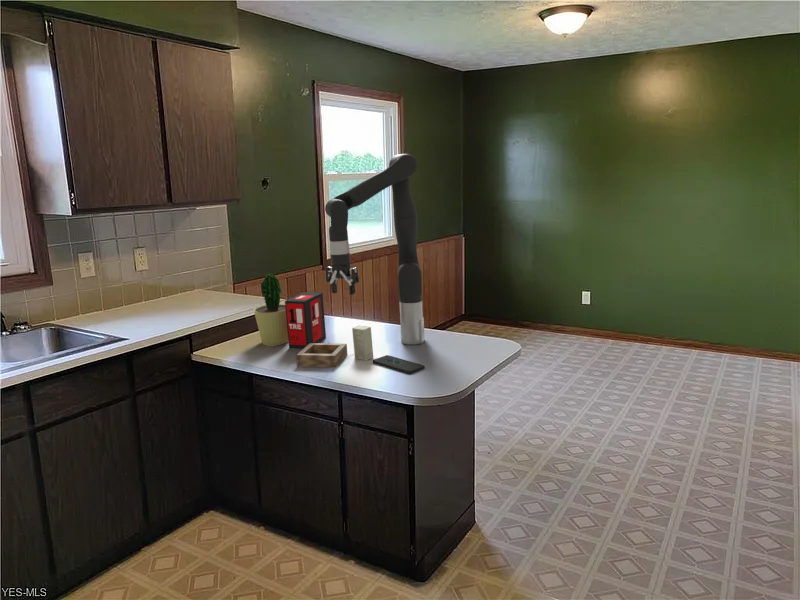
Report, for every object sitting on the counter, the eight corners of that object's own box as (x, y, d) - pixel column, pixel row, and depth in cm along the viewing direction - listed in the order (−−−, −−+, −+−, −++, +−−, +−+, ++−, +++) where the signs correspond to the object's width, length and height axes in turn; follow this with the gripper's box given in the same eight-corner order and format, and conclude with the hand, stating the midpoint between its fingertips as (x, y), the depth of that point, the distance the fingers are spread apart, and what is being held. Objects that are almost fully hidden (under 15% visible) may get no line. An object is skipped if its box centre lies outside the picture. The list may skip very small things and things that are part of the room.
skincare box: (373, 357, 231) (371, 327, 228) (366, 360, 228) (364, 329, 225) (361, 355, 235) (359, 324, 232) (353, 358, 232) (351, 327, 229)
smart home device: (387, 354, 230) (425, 365, 216) (387, 358, 231) (425, 369, 217) (371, 359, 225) (409, 371, 211) (371, 364, 225) (409, 375, 211)
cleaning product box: (307, 337, 263) (303, 292, 259) (326, 338, 261) (322, 292, 256) (289, 348, 248) (284, 300, 244) (308, 349, 245) (304, 301, 241)
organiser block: (347, 354, 236) (346, 343, 235) (335, 367, 222) (335, 355, 221) (311, 353, 239) (310, 343, 238) (297, 366, 225) (296, 354, 224)
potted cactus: (267, 336, 268) (261, 269, 261) (299, 337, 264) (293, 269, 257) (250, 346, 253) (242, 276, 247) (283, 347, 249) (277, 276, 242)
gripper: (360, 251, 230) (363, 293, 233) (331, 250, 237) (335, 290, 241) (348, 254, 223) (352, 297, 227) (319, 253, 231) (322, 294, 235)
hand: (343, 293), depth 234 cm, fingers open, 8 cm apart
